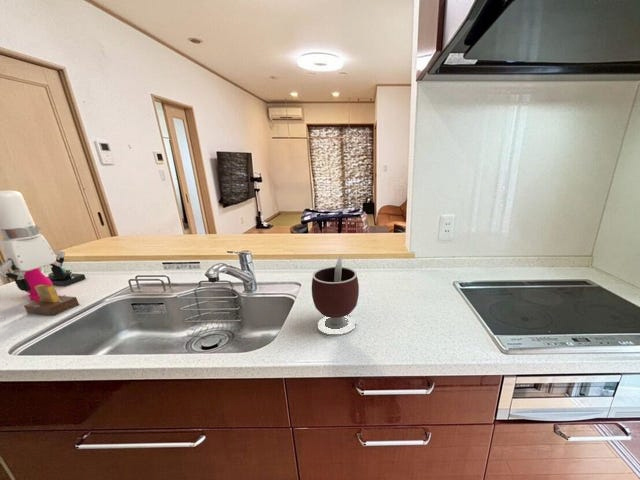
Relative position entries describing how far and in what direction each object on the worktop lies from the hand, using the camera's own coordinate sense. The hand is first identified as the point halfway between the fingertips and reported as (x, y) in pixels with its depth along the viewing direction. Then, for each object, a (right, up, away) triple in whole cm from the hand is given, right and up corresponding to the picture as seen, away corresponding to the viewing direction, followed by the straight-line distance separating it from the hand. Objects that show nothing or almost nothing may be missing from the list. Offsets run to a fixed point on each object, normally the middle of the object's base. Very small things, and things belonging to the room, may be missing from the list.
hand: (44, 284), depth 96 cm
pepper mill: (-13, -5, +12) cm, 18 cm away
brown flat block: (0, -9, +3) cm, 9 cm away
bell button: (-19, +4, +23) cm, 30 cm away
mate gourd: (+96, -13, -3) cm, 97 cm away
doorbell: (-19, 0, +25) cm, 31 cm away
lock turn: (0, -6, +2) cm, 6 cm away
